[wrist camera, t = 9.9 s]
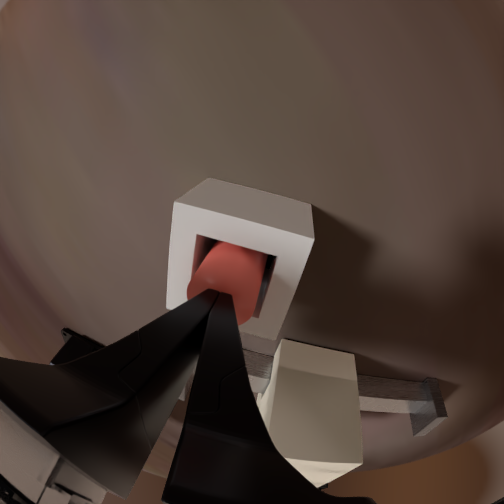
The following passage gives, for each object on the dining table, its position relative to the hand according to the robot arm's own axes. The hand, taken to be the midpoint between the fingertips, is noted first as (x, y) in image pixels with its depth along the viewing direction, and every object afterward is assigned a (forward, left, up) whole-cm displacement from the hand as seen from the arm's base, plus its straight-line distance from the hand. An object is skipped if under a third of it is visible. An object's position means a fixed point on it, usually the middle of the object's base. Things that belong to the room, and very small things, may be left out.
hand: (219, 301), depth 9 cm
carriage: (-9, -6, -5) cm, 12 cm away
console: (0, 0, -5) cm, 5 cm away
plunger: (0, 0, -5) cm, 5 cm away
